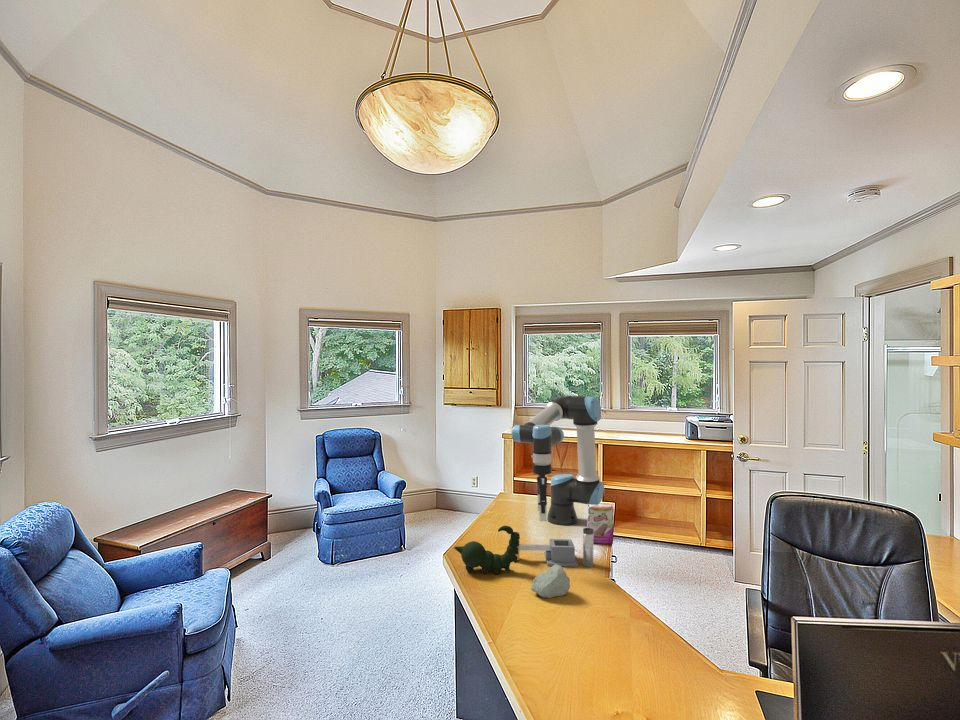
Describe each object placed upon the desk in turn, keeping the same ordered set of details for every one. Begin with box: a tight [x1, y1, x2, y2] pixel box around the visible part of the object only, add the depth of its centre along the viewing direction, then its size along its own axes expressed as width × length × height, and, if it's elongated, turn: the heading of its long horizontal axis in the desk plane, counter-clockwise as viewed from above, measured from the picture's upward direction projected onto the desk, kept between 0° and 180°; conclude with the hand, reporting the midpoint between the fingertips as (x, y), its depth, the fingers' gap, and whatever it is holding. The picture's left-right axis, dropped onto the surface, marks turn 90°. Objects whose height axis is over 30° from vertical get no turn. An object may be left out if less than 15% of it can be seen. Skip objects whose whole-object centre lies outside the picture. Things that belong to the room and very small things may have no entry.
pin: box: [516, 531, 551, 561], centre depth 199 cm, size 3×16×10 cm, turn 88°
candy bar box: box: [586, 504, 615, 545], centre depth 219 cm, size 11×5×16 cm, turn 84°
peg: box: [582, 527, 594, 568], centre depth 195 cm, size 4×4×14 cm
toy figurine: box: [453, 525, 521, 575], centre depth 188 cm, size 9×19×25 cm
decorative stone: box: [530, 564, 571, 599], centre depth 170 cm, size 13×11×10 cm
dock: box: [543, 538, 579, 568], centre depth 199 cm, size 12×12×7 cm
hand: (541, 515), depth 198 cm, fingers open, 13 cm apart
